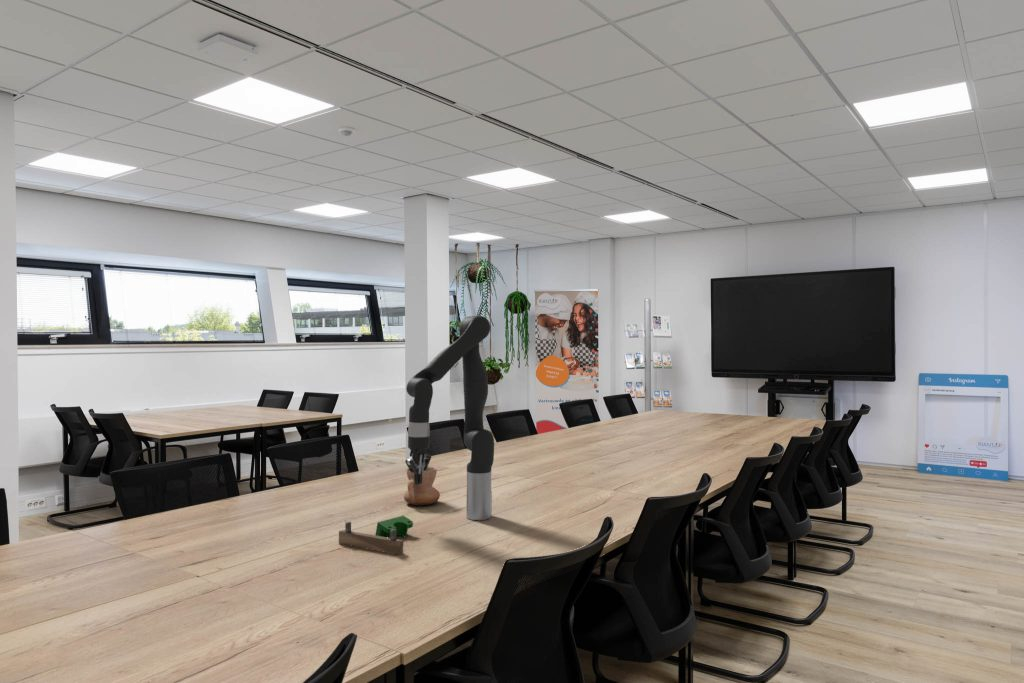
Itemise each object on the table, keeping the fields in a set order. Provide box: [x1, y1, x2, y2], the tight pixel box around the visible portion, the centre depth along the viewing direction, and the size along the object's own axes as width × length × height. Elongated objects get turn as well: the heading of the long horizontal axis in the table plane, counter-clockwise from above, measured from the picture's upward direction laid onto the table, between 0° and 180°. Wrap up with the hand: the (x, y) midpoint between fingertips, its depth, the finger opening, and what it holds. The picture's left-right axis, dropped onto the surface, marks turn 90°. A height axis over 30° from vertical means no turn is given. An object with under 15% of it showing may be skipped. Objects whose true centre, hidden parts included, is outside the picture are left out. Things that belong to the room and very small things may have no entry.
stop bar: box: [338, 521, 404, 556], centre depth 203 cm, size 2×24×7 cm, turn 63°
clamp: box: [375, 515, 414, 538], centre depth 215 cm, size 12×6×9 cm, turn 135°
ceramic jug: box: [403, 465, 441, 506], centre depth 261 cm, size 18×14×14 cm
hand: (418, 483), depth 227 cm, fingers closed
